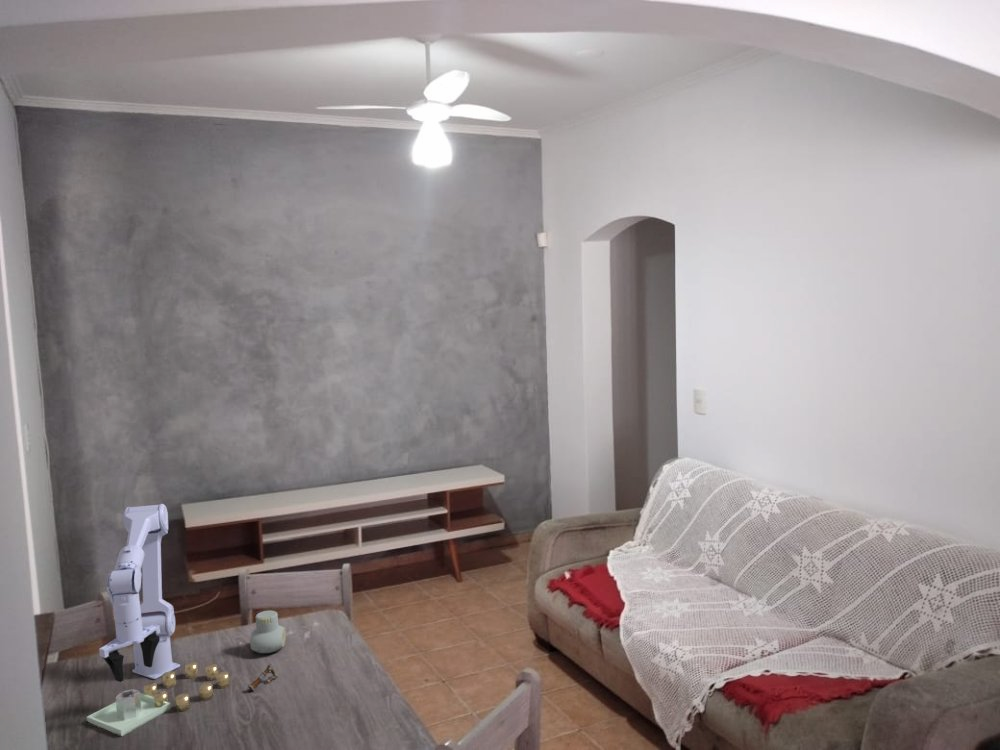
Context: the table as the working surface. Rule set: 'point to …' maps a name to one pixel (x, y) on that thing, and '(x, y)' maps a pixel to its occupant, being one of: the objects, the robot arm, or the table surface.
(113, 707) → the tray
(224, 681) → the set of brass balls
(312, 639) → the table surface
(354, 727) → the table surface
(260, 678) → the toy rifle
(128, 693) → the steel nut
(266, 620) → the air freshener
